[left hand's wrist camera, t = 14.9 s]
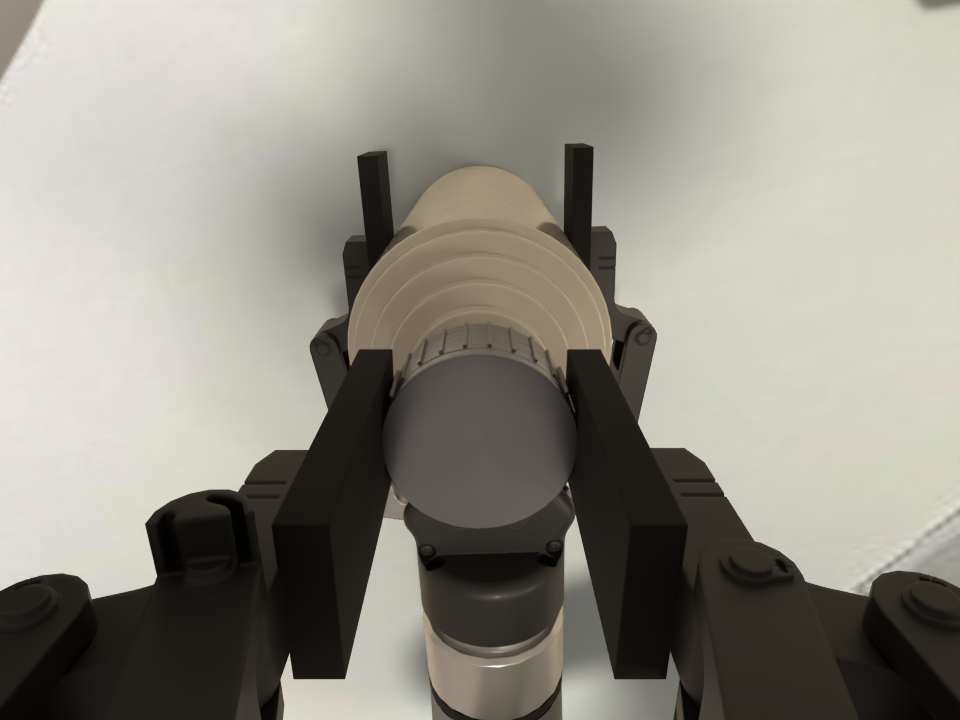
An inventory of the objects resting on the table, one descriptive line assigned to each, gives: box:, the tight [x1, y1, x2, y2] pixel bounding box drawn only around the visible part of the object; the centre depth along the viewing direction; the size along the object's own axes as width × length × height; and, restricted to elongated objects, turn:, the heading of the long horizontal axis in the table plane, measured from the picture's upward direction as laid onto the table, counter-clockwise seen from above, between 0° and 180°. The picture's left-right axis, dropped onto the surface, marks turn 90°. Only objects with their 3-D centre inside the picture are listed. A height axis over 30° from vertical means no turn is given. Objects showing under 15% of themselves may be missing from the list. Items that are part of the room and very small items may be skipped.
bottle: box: [348, 166, 612, 380], centre depth 23 cm, size 8×8×21 cm
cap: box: [382, 322, 578, 529], centre depth 14 cm, size 4×4×2 cm
